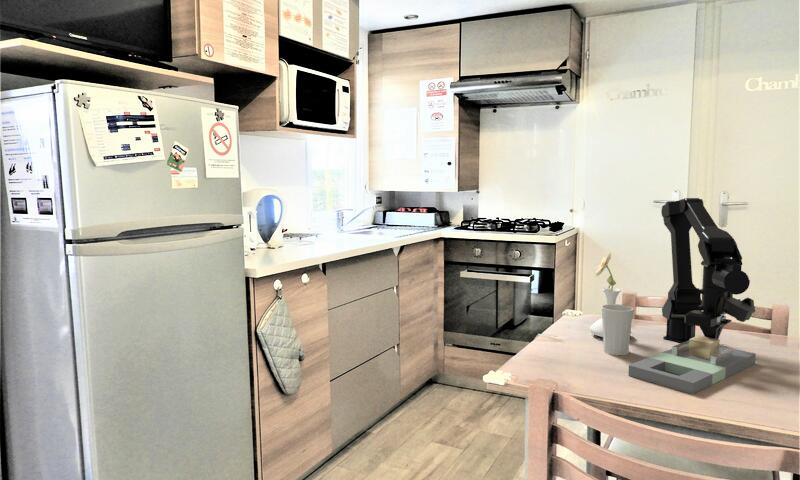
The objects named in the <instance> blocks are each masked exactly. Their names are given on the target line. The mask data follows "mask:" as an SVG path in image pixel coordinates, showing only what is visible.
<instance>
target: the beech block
mask: <svg viewBox="0 0 800 480" xmlns="http://www.w3.org/2000/svg"><path fill="white" fill-rule="evenodd" d="M720 342H721V340H720V339H714V338H709V337H705V336H704V335H695V337H693V338H691V339H689V355H692V356H696V357H700V358H704V359H709V360H710V356H711V355H713V354H715V353H718V352H719V346H721V345H720V344H721V343H720Z"/></svg>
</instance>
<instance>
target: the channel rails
mask: <svg viewBox="0 0 800 480" xmlns="http://www.w3.org/2000/svg"><path fill="white" fill-rule="evenodd" d="M729 348H730V347H728V348H727V349H725V350H722V351H720V352H718V353H715V354H713V355H711V356H710V364H713V365H717V364H719V363H721V362H723V361H726V360H728V359H730V358H732V356H733V349H734V348H733V349H729ZM671 349H672V355H676V356H677V355H679V354H682V353H684V352H687V351H689V340H688V341H686V342H683V343H681V342H679V343H678V344H675V345H673V346H671Z"/></svg>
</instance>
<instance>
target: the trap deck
mask: <svg viewBox="0 0 800 480" xmlns="http://www.w3.org/2000/svg"><path fill="white" fill-rule="evenodd" d="M727 348H729V349H733V356H732V358H730V359H728V360H726V361H723V362H721V363H719V364H717V365H713V364H710V360H709V359H704V358H700V357H696V356H692V355H689V351H687V352H684V353H682V354H679V355H677V356H676V355H672V348H670V349H667V350H665V351H662V352H660V353H658V354H657V353H656V354H655V355H652V356H649V357H647V358H644V359H641V360H639V361H636V362H633V363H631V364H628V375H629V377H632V378H637V379H639V380H643V381H646V382H649V383H653V384H657V385H659V386H663V387H666V388H670V389H673V390H676V391H680V392H683V393H688V394H690V395H694V394H696V393H697V392H700V391H702V390H704V389H706V388H708V387H710V386H712V385H715V384H717V383H718V382H720V381H722V380H724V379H726V378H728V377H730V376H732V375H735V374H736V373H739V372H740V371H743V370H744V369H746V368H748V367H750V366H752V365H755V364H756V357H757V356H756V355H757V354H756V353H755V352H750V351H746V350H741V349H738V348H731V347H727V346H724V345H719V352H720V351H722V350H725V349H727Z"/></svg>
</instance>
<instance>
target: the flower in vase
mask: <svg viewBox="0 0 800 480" xmlns="http://www.w3.org/2000/svg"><path fill="white" fill-rule="evenodd" d="M611 258H612V252H611V251H610V252H606V254H605V256H603V257H602V259H601V263H600V264H598V265H597V267H596V268H597V270H595V272H594V275H595V276H594V277H598V276H600V275H601V274H602V273H603V272H604V271H605V269H607V271H608V272H609V276H608V278H607V279H606V282H607V283H608V284H609V285H608V287H604V288H602V289H601V290H602V291H603V293H604V295H605V298H606V305H607V304H616V302H617V298H618V296H619V293H621V292H622V289H620V288H614V286H616V284H617V282H616V281H615V279H614V278H613V274H612V272H611V270H610V268H609V266H608V264H609V262H610V260H611ZM589 331H590V333H591V334H593V335H595V336H598V337H601V338H603V325H602V317H601V318H600V319H598V320H596V321H595V322H593V324H591V326H590V327H589ZM631 334H632V331H631V332H630V335H631Z"/></svg>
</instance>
